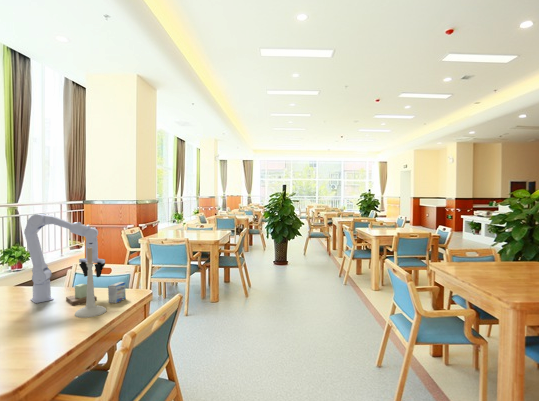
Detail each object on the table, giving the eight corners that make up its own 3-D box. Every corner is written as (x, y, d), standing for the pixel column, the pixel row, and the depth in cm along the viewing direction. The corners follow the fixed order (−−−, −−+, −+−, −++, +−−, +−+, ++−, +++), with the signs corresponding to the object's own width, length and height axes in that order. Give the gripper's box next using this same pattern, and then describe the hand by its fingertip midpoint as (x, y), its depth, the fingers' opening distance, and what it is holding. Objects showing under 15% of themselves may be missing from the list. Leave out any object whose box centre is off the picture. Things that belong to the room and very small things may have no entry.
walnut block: (66, 302, 179) (66, 297, 179) (89, 297, 186) (89, 292, 186) (72, 306, 171) (72, 301, 171) (96, 301, 179) (96, 296, 179)
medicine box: (116, 303, 174) (116, 285, 173) (108, 302, 175) (107, 285, 174) (125, 298, 181) (125, 281, 181) (118, 298, 182) (117, 281, 182)
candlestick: (112, 309, 164) (111, 245, 164) (91, 318, 152) (89, 249, 152) (90, 307, 168) (89, 244, 168) (67, 316, 156) (66, 248, 155)
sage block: (75, 297, 178) (74, 285, 178) (82, 295, 181) (82, 283, 181) (80, 298, 176) (79, 286, 176) (87, 296, 180) (87, 284, 180)
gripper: (74, 251, 184) (75, 277, 184) (98, 252, 180) (98, 278, 181) (84, 249, 191) (85, 274, 191) (107, 250, 187) (108, 275, 188)
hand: (92, 276), depth 186 cm, fingers open, 7 cm apart
